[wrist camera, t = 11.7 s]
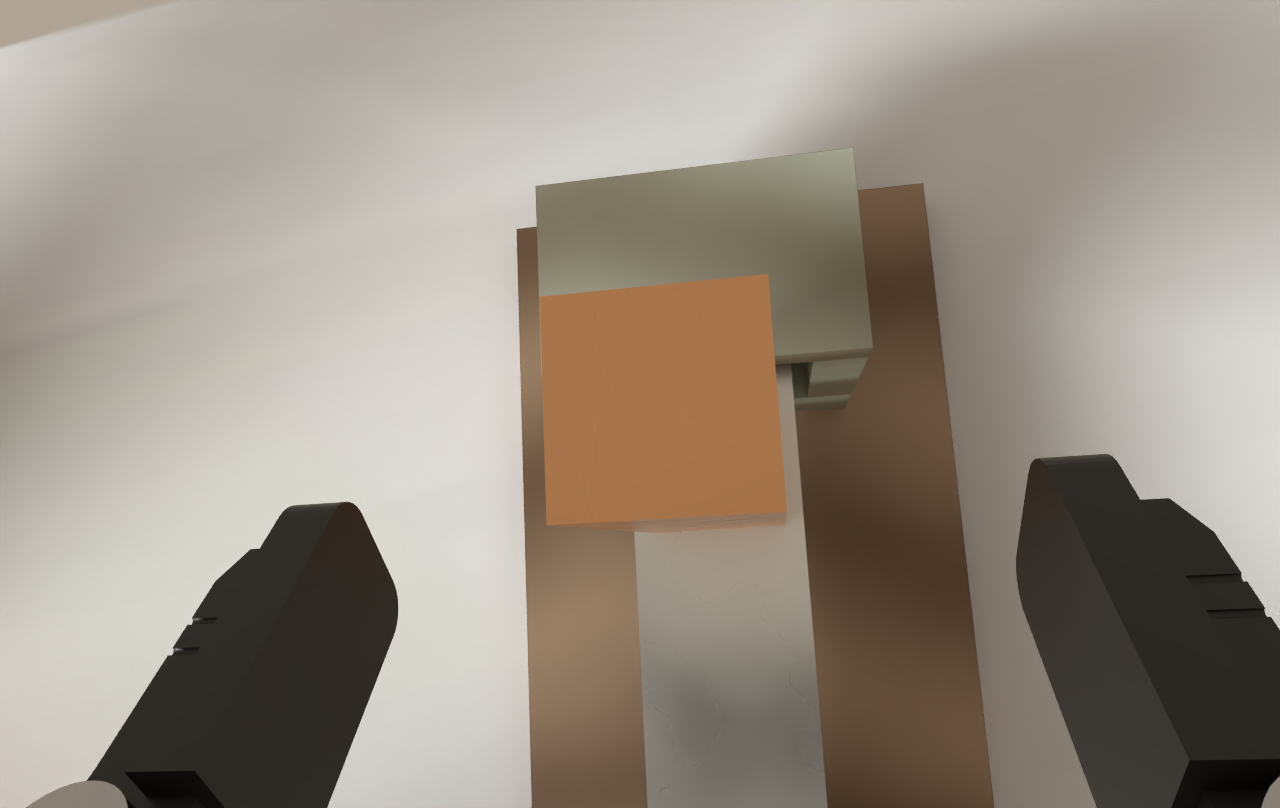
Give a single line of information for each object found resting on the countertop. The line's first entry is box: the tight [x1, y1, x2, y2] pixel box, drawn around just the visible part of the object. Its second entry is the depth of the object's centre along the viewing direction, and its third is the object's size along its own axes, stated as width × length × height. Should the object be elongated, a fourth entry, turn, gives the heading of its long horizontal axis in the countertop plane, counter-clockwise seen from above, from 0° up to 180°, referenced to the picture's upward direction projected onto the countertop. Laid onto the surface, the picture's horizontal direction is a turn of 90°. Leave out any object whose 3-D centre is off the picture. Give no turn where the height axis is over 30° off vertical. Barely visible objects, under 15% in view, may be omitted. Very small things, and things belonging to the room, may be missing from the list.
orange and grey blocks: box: [540, 274, 828, 808], centre depth 13 cm, size 17×3×11 cm, turn 5°
